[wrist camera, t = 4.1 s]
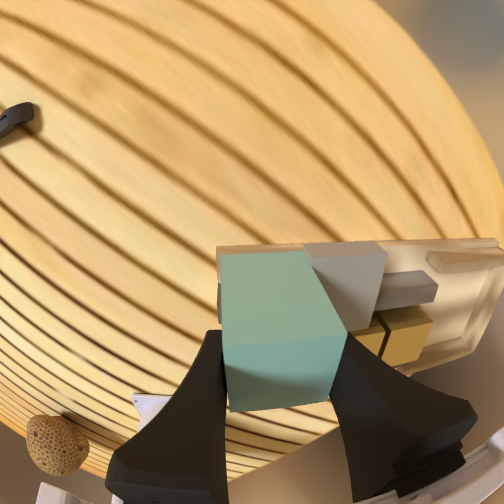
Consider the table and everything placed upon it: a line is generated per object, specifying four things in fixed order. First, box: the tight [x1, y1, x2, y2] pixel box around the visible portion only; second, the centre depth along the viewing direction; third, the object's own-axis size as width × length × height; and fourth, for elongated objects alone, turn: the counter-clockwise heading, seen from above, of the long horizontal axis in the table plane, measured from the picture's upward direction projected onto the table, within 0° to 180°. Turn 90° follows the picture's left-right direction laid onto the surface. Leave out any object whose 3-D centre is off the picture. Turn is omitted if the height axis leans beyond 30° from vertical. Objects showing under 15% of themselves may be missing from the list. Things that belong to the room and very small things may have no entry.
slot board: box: [216, 238, 504, 375], centre depth 21 cm, size 13×27×4 cm, turn 91°
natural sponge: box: [27, 415, 90, 476], centre depth 24 cm, size 9×9×10 cm
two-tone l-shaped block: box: [221, 241, 388, 412], centre depth 12 cm, size 5×8×6 cm, turn 90°
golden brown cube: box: [349, 314, 385, 356], centre depth 20 cm, size 4×4×4 cm
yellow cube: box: [373, 304, 434, 367], centre depth 20 cm, size 4×4×4 cm
